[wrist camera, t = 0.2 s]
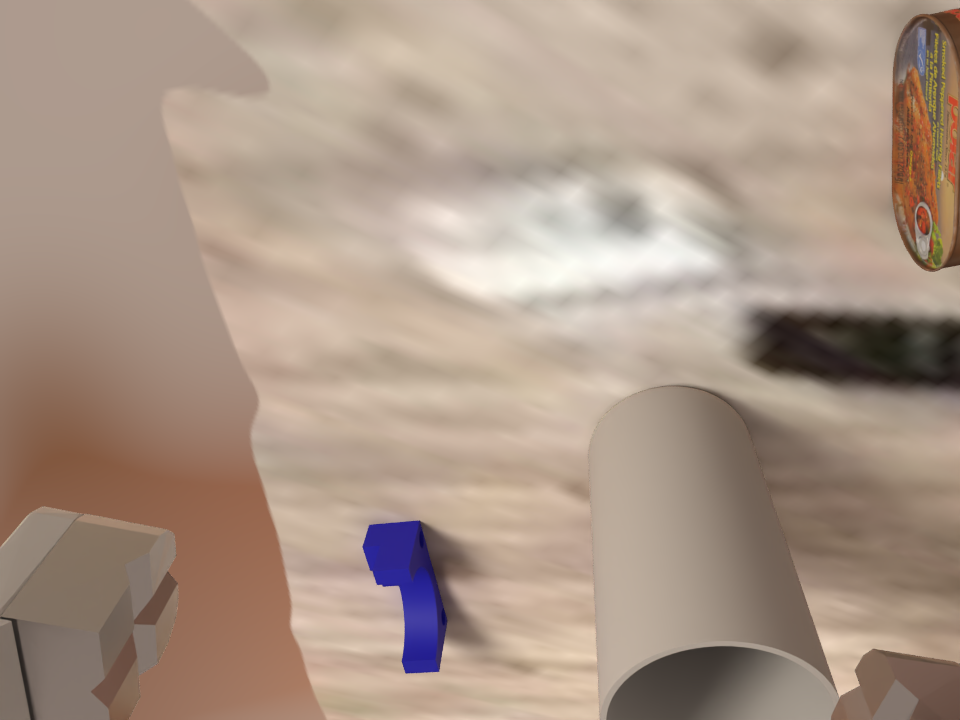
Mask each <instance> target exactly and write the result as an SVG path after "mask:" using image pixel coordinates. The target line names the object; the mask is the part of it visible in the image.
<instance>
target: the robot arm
mask: <svg viewBox="0 0 960 720" xmlns="http://www.w3.org/2000/svg"><path fill="white" fill-rule="evenodd" d="M175 557H176V547H175V538H174V534H173V533H172V532H170V531H169V530H166V529H161V528H156V527H151V526H146V525H141V524H135V523H130V522H124V521H120V520H115V519H110V518H105V517H100V516H95V515H89V514H85V515H84V514H79V513H74V512H69V511H64V510H59V509H54V508H49V507H44V506H43V507H41V508H39V509H37V510H35V511H33V512H31V513H30V514H29V515H28V516H27V517H26V518H25V519H24V520H23V521H22V523H21V524H20V525H19V526H18V528H17V529H16V530H15V531H14V532H13V533H12V534H11V535H10V537H9V538H8V539H7V540H6V541H5V542H4V544H3V545H2V546H1V547H0V720H128V719H129V717H130V716H131V714H132V712H133V710H134V708H135V706H136V704H137V702H138V700H139V699H140V685H139V675H141V674H142V673H144V672H146V671H147V670H149V669H150V668H152V667H153V666H155V665H157V664H158V662H159V660H160V658H161V656H162V654H163V652H164V650H165V648H166V646H167V644H168V642H169V638H170V635H171V632H172V629H173V625H174V622H175V619H176V613H177V606H178V583H177V582H176V581H175V580H174V578H173V577H172V576H171V575H170V574H169V572H168V569H169V567H170V565H171V564H172V562H173V560H174V558H175ZM855 673H856V675H857V678H858V681H859V684H860V686H859V687H857V688H855V689H853V690H851V691H849V692H847V693H845V694H844V695H842V696H840V699H839V701H838V703H837V705H836V707H835V709H834V711H833V713H832V715H831V720H960V663H956V662H953V661H946V660H940V659H934V658H927V657H921V656H915V655H909V654H902V653H896V652H890V651H884V650H877V649H872V650H871V651H869V652H868V653H866V654H865V655H863V657H862V659H861V660H860V662H859V664H858V666H857V667H856V669H855Z"/></svg>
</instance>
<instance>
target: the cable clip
mask: <svg viewBox="0 0 960 720" xmlns="http://www.w3.org/2000/svg"><path fill="white" fill-rule="evenodd" d="M363 550H364V553H365V556H366V559H367V562H368V565H369V568H370V571H373V574H374V577H375V580H376V583H377V585H382V586H383V587H385V586H399V587H400V591H401V595H402V601H403V608H404V621H405V639H404V651H403V658H402V664H403V667H404V670H405V673H424V672H439V669H440V663H441V657H442V651H443V644H444V638H445V632H446V626H447V618H446V614H445V611H444V607H443V603H442V600H441V596H440V592H439V589H438V585H437V582H436V578H435V574H434V571H433V567H432V564H431V560H430V556H429V553H428V549H427V545H426V542H425V538H424V535H423V531H422V527H421V524H420V521H409V522H397V523H386V524H374V525H369V528H368V531H367V534H366V538H365V541H364V544H363Z"/></svg>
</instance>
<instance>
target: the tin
mask: <svg viewBox="0 0 960 720" xmlns="http://www.w3.org/2000/svg"><path fill="white" fill-rule="evenodd" d="M892 197H893V205H894V212H895V217H896V222H897V226H898V230H899V232H900V235H901V238H902V240H903V242H904V245H905V247H906V249H907V251H908V252H909V254H910V256H911V257H912V259H913V260H914V261H915V263H916V264H917V265H918V266H920V267H921V268H922V269H924V270H926V271H930V272H935V271H938V270H940V269H942V268H946V267H952V266H957V265H960V8H959V9H952V10H948V11H944V12H939V13H935V14H930V15H929V14H920V15H917V16H915V17H914V18H912V19H911V20H910V21H909V22H908V24H907V25H906V26H905V28H904V29H903V31H902V33H901V36H900V38H899V40H898V44H897V48H896V52H895V58H894V67H893V145H892Z"/></svg>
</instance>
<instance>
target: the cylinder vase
mask: <svg viewBox="0 0 960 720" xmlns="http://www.w3.org/2000/svg"><path fill="white" fill-rule="evenodd" d="M588 460H589V483H590V507H591V530H592V553H593V576H594V600H595V623H596V646H597V669H598V692H599V716H600V720H831V715H832V713H833V711H834V709H835V707H836V705H837V703H838V701H839V696H838V693H837V690H836V687H835V684H834V681H833V678H832V675H831V672H830V669H829V667H828V664H827V661H826V658H825V655H824V652H823V649H822V646H821V643H820V640H819V637H818V634H817V631H816V628H815V625H814V622H813V619H812V616H811V614H810V611H809V608H808V605H807V602H806V599H805V596H804V593H803V590H802V587H801V584H800V581H799V578H798V575H797V572H796V569H795V566H794V563H793V561H792V558H791V555H790V552H789V549H788V546H787V543H786V540H785V537H784V534H783V531H782V528H781V525H780V522H779V519H778V516H777V513H776V510H775V508H774V505H773V502H772V499H771V496H770V493H769V490H768V487H767V484H766V481H765V478H764V475H763V472H762V469H761V466H760V463H759V460H758V457H757V455H756V452H755V449H754V446H753V443H752V440H751V437H750V434H749V431H748V429H747V427H746V425H745V423H744V421H743V420H742V418H741V417H740V416H739V414H738V413H737V412H736V411H735V410H734V409H733V408H732V407H731V406H730V405H729V404H727V403H726V402H725V401H723V400H722V399H720V398H718V397H716V396H714V395H712V394H710V393H708V392H705V391H702V390H699V389H695V388H690V387H682V386H665V387H657V388H652V389H648V390H644V391H641V392H638V393H636V394H633V395H631V396H629V397H627V398H626V399H624V400H622V401H621V402H619V403H618V404H616V405H615V406H614V407H613V408H611V409H610V410H609V411H608V412H607V413H606V414H605V416H604V417H603V418H602V419H601V421H600V422H599V423H598V425H597V427H596V429H595V430H594V433H593V435H592V438H591V441H590V445H589V453H588Z"/></svg>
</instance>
